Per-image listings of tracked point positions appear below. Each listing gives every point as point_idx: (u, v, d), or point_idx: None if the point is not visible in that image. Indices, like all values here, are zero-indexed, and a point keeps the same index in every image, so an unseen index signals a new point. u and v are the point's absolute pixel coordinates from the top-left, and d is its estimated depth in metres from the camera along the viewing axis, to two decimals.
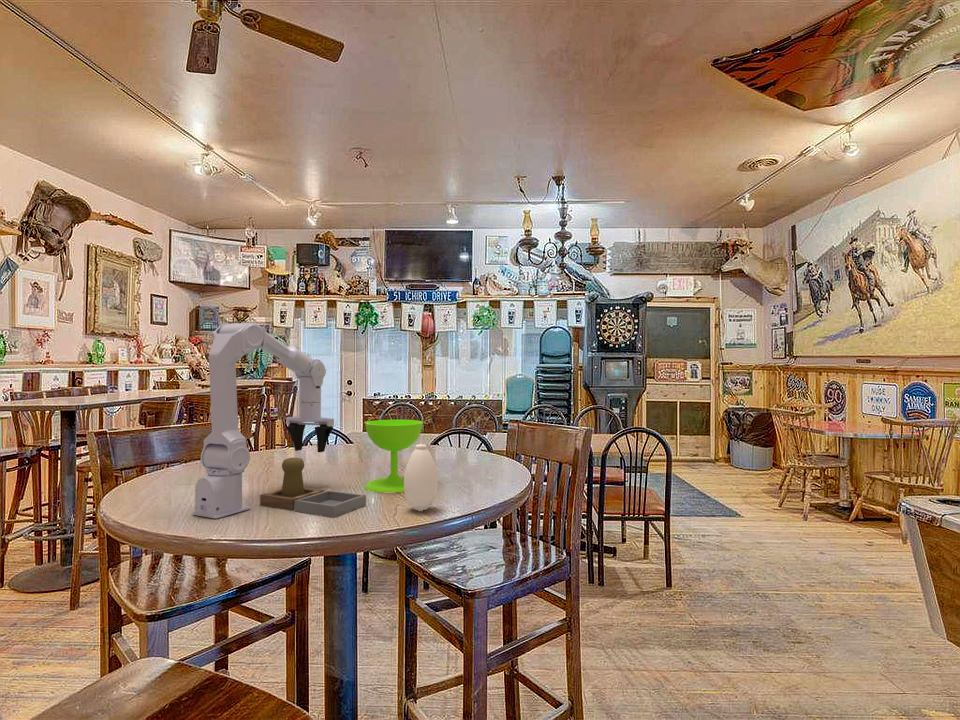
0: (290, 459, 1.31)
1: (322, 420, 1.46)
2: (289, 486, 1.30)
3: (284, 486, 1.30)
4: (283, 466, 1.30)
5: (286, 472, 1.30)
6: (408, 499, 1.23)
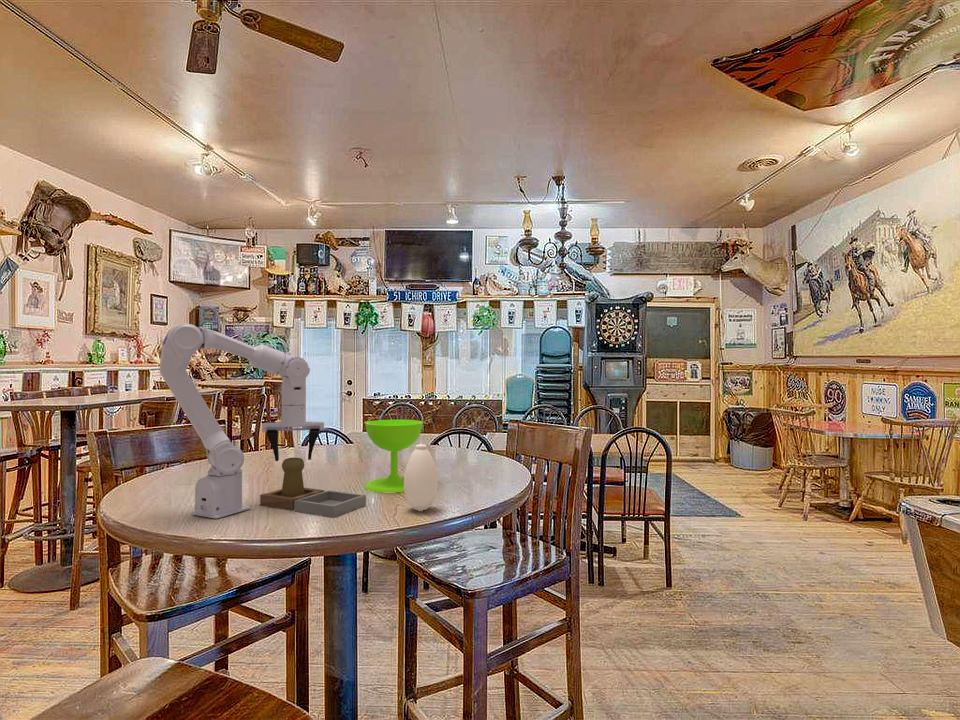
0: (290, 459, 1.31)
1: (315, 424, 1.33)
2: (289, 486, 1.30)
3: (284, 486, 1.30)
4: (283, 466, 1.30)
5: (286, 472, 1.30)
6: (408, 499, 1.23)
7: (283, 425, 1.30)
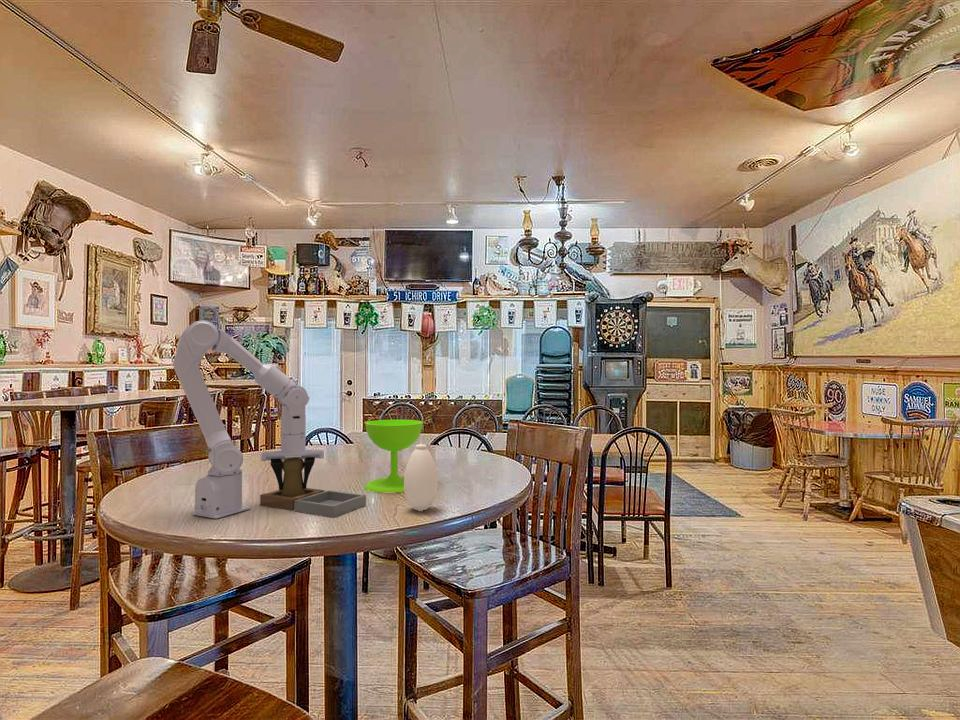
0: (290, 459, 1.31)
1: (314, 452, 1.32)
2: (289, 486, 1.30)
3: (284, 486, 1.30)
4: (283, 466, 1.30)
5: (286, 472, 1.30)
6: (408, 499, 1.23)
7: (282, 454, 1.29)
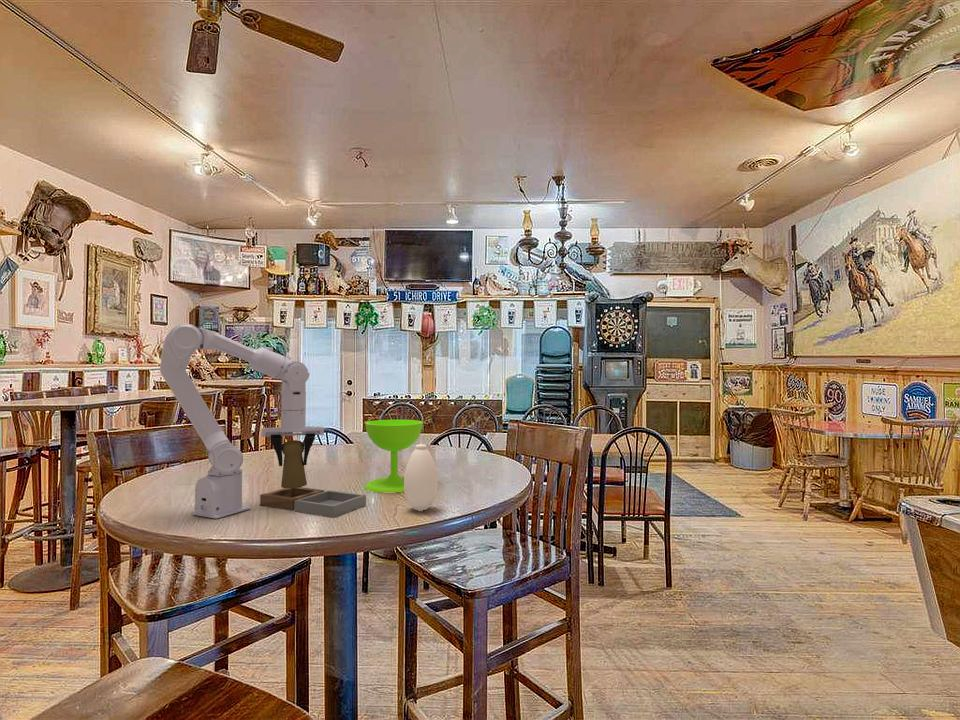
0: (290, 442, 1.31)
1: (315, 429, 1.32)
2: (290, 469, 1.30)
3: (285, 469, 1.30)
4: (283, 449, 1.30)
5: (286, 455, 1.30)
6: (408, 499, 1.23)
7: (283, 430, 1.29)
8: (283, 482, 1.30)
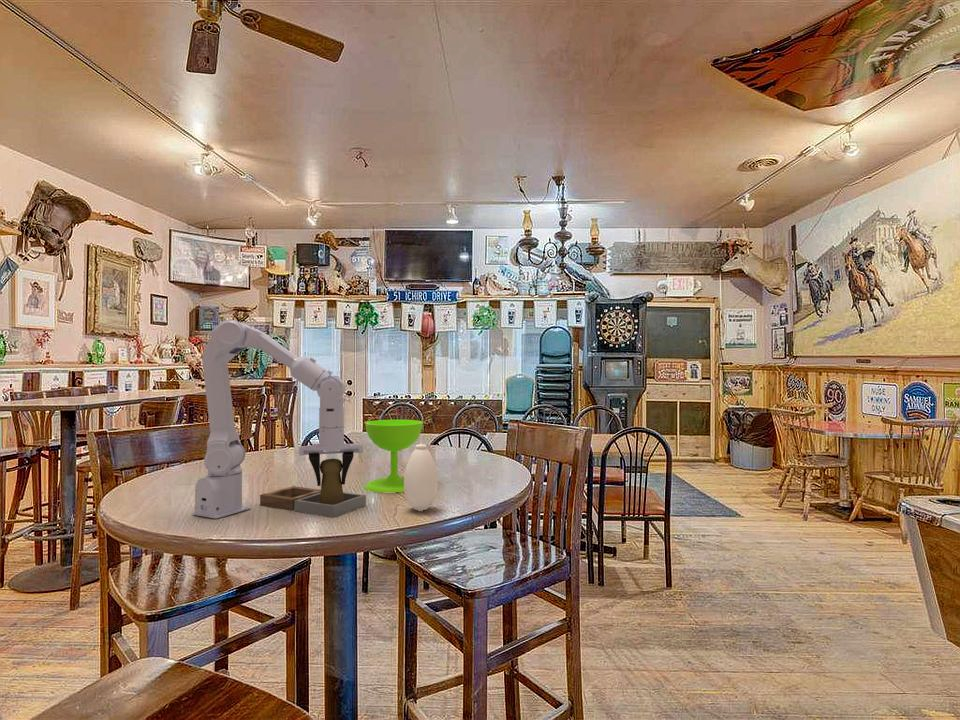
0: (329, 460, 1.26)
1: (354, 447, 1.27)
2: (330, 488, 1.25)
3: (324, 489, 1.26)
4: (322, 468, 1.26)
5: (326, 474, 1.26)
6: (408, 499, 1.23)
7: (321, 448, 1.24)
8: (322, 502, 1.25)
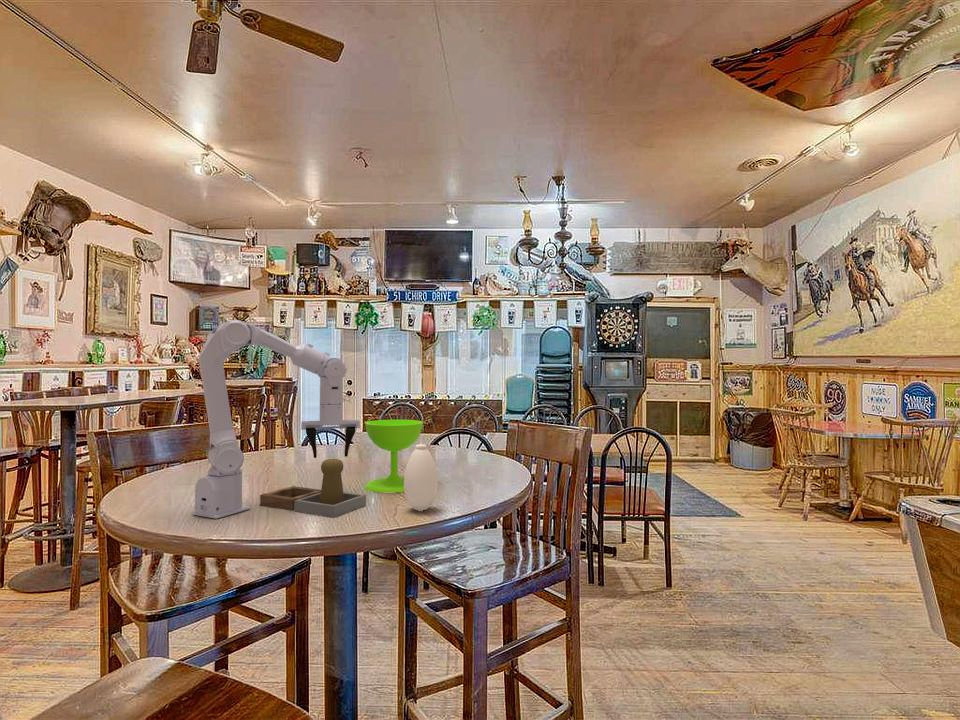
0: (330, 461, 1.27)
1: (351, 422, 1.39)
2: (330, 489, 1.25)
3: (325, 489, 1.26)
4: (323, 468, 1.26)
5: (327, 474, 1.26)
6: (408, 499, 1.23)
7: (321, 423, 1.35)
8: (322, 502, 1.25)
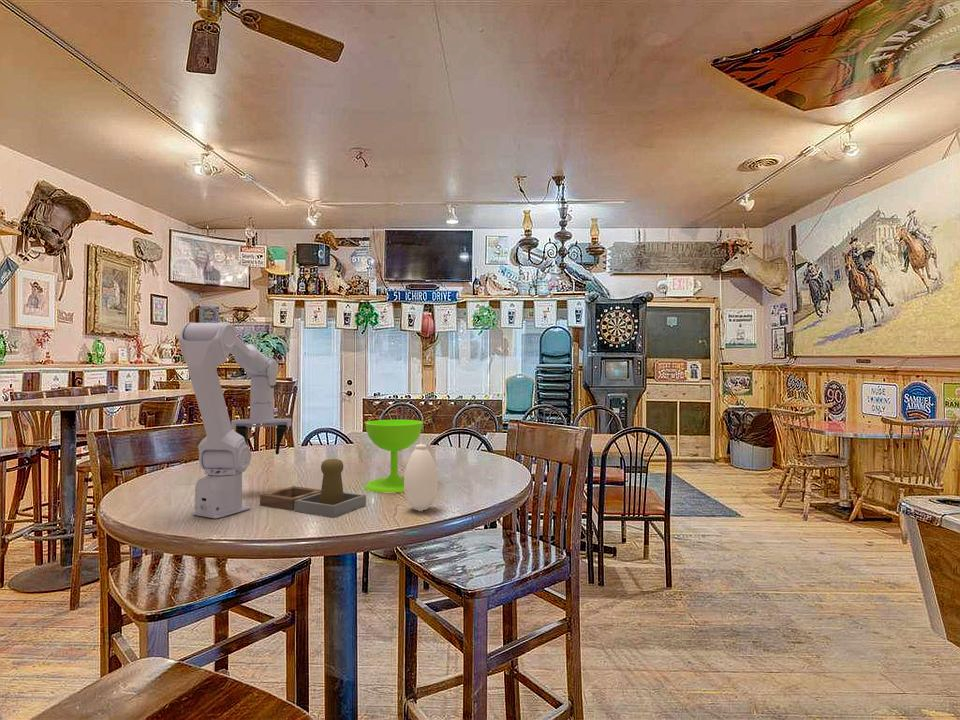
0: (330, 461, 1.27)
1: (282, 420, 1.41)
2: (330, 489, 1.25)
3: (325, 489, 1.26)
4: (323, 468, 1.26)
5: (327, 474, 1.26)
6: (408, 499, 1.23)
7: (251, 421, 1.38)
8: (322, 502, 1.25)
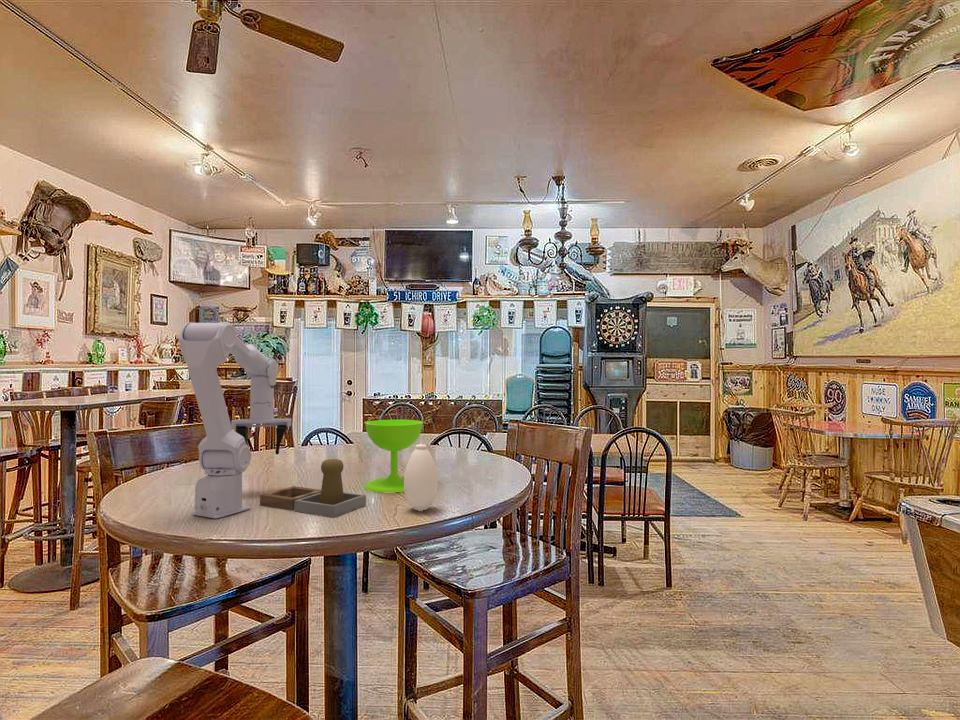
0: (330, 461, 1.27)
1: (282, 420, 1.41)
2: (330, 489, 1.25)
3: (325, 489, 1.26)
4: (323, 468, 1.26)
5: (327, 474, 1.26)
6: (408, 499, 1.23)
7: (251, 421, 1.38)
8: (322, 502, 1.25)
